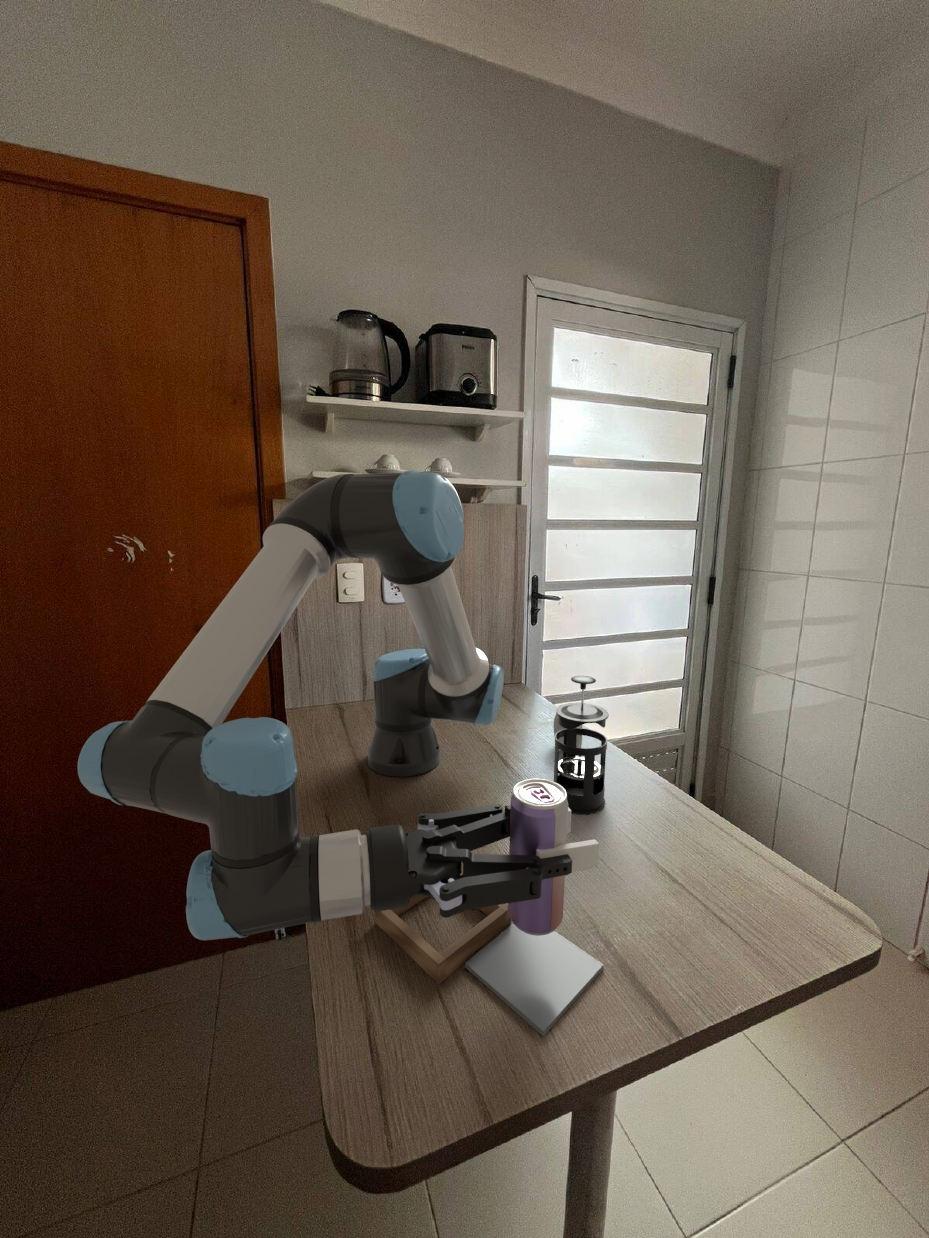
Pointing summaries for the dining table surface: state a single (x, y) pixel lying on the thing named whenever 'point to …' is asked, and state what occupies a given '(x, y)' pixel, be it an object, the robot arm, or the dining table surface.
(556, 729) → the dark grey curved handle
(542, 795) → the beverage can
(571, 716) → the french press
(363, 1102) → the dining table surface
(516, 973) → the slate coaster
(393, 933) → the walnut holder
